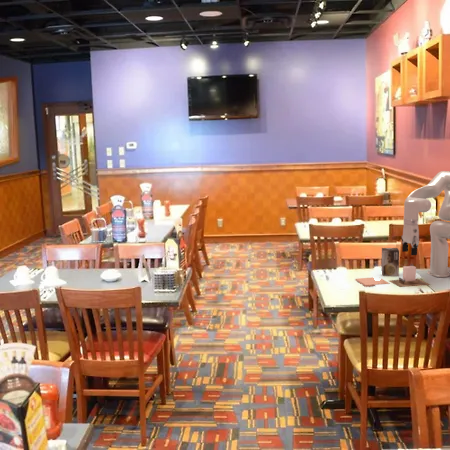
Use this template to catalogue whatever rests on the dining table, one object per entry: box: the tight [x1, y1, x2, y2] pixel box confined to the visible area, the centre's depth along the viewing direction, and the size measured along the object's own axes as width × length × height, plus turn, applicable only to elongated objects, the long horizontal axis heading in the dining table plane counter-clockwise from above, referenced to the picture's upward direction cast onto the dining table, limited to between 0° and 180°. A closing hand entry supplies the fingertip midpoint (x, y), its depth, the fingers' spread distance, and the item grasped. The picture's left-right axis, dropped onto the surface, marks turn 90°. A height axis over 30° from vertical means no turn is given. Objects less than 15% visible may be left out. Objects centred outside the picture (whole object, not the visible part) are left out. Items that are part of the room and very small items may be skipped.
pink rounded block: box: [402, 265, 417, 281], centre depth 332 cm, size 6×3×9 cm, turn 101°
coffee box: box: [381, 247, 400, 277], centre depth 350 cm, size 9×6×16 cm
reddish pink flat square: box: [354, 276, 391, 288], centre depth 338 cm, size 14×14×1 cm
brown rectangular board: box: [388, 277, 431, 288], centre depth 333 cm, size 18×14×3 cm
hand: (409, 253), depth 330 cm, fingers open, 9 cm apart
